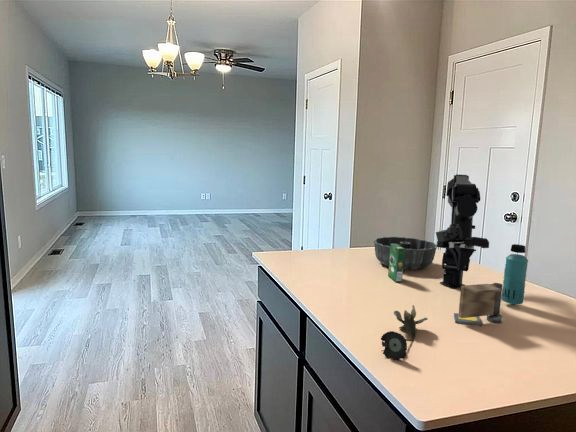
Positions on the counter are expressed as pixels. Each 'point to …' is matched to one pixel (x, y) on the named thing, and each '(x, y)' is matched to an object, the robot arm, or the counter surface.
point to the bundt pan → (406, 251)
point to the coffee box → (396, 262)
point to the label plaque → (468, 320)
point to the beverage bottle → (515, 276)
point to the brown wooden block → (480, 300)
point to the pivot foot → (494, 318)
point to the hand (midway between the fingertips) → (459, 270)
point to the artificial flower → (400, 336)
